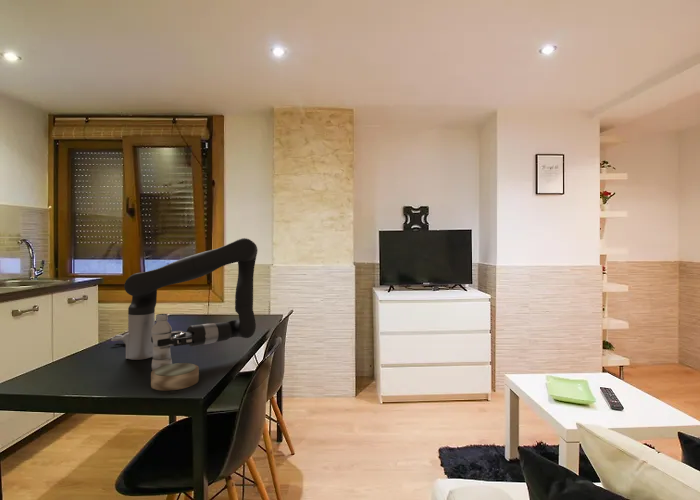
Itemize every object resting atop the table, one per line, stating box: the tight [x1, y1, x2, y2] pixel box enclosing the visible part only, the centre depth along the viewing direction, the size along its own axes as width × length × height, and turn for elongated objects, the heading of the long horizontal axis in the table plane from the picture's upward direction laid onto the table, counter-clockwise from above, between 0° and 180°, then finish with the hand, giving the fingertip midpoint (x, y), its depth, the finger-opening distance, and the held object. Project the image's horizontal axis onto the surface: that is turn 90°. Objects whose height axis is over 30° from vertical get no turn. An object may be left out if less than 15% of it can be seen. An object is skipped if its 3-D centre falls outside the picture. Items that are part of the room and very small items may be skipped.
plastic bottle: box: [150, 313, 173, 371], centre depth 135 cm, size 6×7×20 cm
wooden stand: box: [150, 362, 200, 392], centre depth 125 cm, size 14×14×4 cm
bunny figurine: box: [110, 332, 128, 345], centre depth 175 cm, size 10×5×15 cm
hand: (154, 341), depth 134 cm, fingers closed on plastic bottle, 6 cm apart
